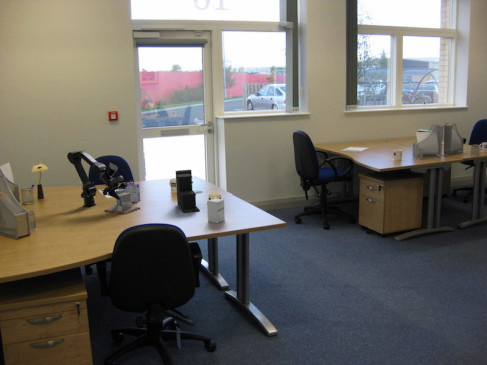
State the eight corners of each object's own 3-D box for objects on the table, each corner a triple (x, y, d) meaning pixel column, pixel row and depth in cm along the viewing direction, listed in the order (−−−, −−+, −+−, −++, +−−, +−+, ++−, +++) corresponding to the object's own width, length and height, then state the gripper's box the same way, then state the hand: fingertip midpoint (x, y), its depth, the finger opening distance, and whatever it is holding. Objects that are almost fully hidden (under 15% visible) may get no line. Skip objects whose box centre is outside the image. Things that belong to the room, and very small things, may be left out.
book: (117, 208, 302) (115, 190, 299) (123, 206, 307) (122, 188, 305) (120, 209, 300) (119, 191, 298) (127, 207, 306) (125, 189, 303)
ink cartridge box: (140, 200, 329) (139, 180, 326) (138, 202, 324) (136, 182, 321) (127, 200, 330) (125, 180, 327) (124, 202, 325) (122, 182, 322)
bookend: (200, 211, 295) (198, 175, 290) (183, 213, 292) (181, 176, 287) (193, 203, 317) (191, 169, 312) (177, 204, 313) (175, 170, 309)
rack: (104, 211, 302) (102, 194, 300) (119, 206, 314) (118, 190, 312) (125, 214, 294) (123, 197, 291) (140, 208, 306) (138, 192, 303)
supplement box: (218, 223, 267) (217, 202, 265) (207, 221, 271) (206, 200, 269) (225, 220, 274) (224, 199, 271) (214, 218, 277) (214, 198, 275)
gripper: (104, 175, 293) (118, 193, 290) (124, 170, 309) (138, 187, 306) (96, 186, 298) (110, 204, 295) (117, 180, 314) (130, 198, 311)
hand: (122, 198), depth 302 cm, fingers closed on book, 6 cm apart
